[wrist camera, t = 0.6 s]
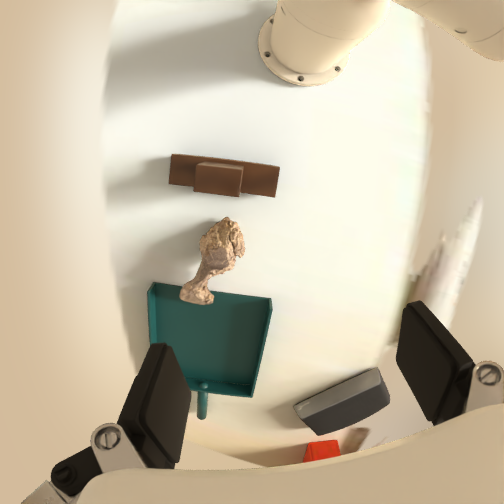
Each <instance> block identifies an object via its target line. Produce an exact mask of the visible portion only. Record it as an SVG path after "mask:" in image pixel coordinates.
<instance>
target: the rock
mask: <svg viewBox="0 0 504 504" xmlns="http://www.w3.org/2000/svg"><path fill="white" fill-rule="evenodd" d="M199 243H200V251H201V255H202V261H201V264H200V267H199V269H198V272H197V274H196V276H195V278H194V279H193V280H191V281H189V282H187V283H186V284H184V286H183V287H182V289H181V292H180V295H179V297H180V299H181V300H183V301H187V302H191V303H194V304H199V305H205V304H212V303H213V298H214V295H212V294H211V292H210V291H209V290H208V288H207V283H208V279H210V278H211V277H212V276H215V275H218V274H223V273H224V272H225V271H229V270H232V269H233V267H234V264H235V261H236V260H235V258H236V256H239V258H241V257H242V256H243V255H244V252H245V247H244V241H243V235H242V233H241V231H240V228H239V226H238V224H237V222H233V221H231V220H230V219H229V218H228V217H225V218H224V219H223V220H221V222H218V223H216V224H215V226H213V227H212V228H210V231H208V232H207V233H206V235H202V238H201V239H200V242H199Z"/></svg>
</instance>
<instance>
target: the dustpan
mask: <svg viewBox="0 0 504 504" xmlns="http://www.w3.org/2000/svg"><path fill="white" fill-rule="evenodd" d="M181 289H182V286H175V285H169V284H162V283H156V282H153V283H152V285H151V287H150V288H149V290H148V291H147V300H148V322H149V339H150V345H151V344H152V343H164V342H165V343H166V344H167V345H168V346H171V347H172V349H173V351H174V354H175V356H176V358H177V361H178V363H179V366H180V368H181V370H182V372H183V375H184V377H185V379H186V382H187V384H188V386H189V388H190V390H193V391H198V398H197V417H198V418H199V419H200V420H203V419H205V418H206V413H207V399H208V393H213V394H221V395H230V396H239V397H250V398H252V397H253V393H254V389H255V385H256V380H257V376H258V372H259V368H260V363H261V359H262V355H263V350H264V346H265V342H266V337H267V333H268V328H269V324H270V319H271V314H272V310H273V309H272V301H271V298H263V297H255V296H247V295H239V294H231V293H224V292H216V291H210V292H211V294H212V295H214V298H213V303H212V304H205V305H199V304H194V303H191V302H187V301H183V300H181V299H180V297H179V295H180V292H181ZM189 377H190V378H189ZM196 378H197V379H196ZM202 379H203V380H202ZM209 380H210V381H209ZM217 381H218V382H217ZM225 382H226V383H225ZM233 383H235V384H233ZM243 384H244V385H243Z"/></svg>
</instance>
